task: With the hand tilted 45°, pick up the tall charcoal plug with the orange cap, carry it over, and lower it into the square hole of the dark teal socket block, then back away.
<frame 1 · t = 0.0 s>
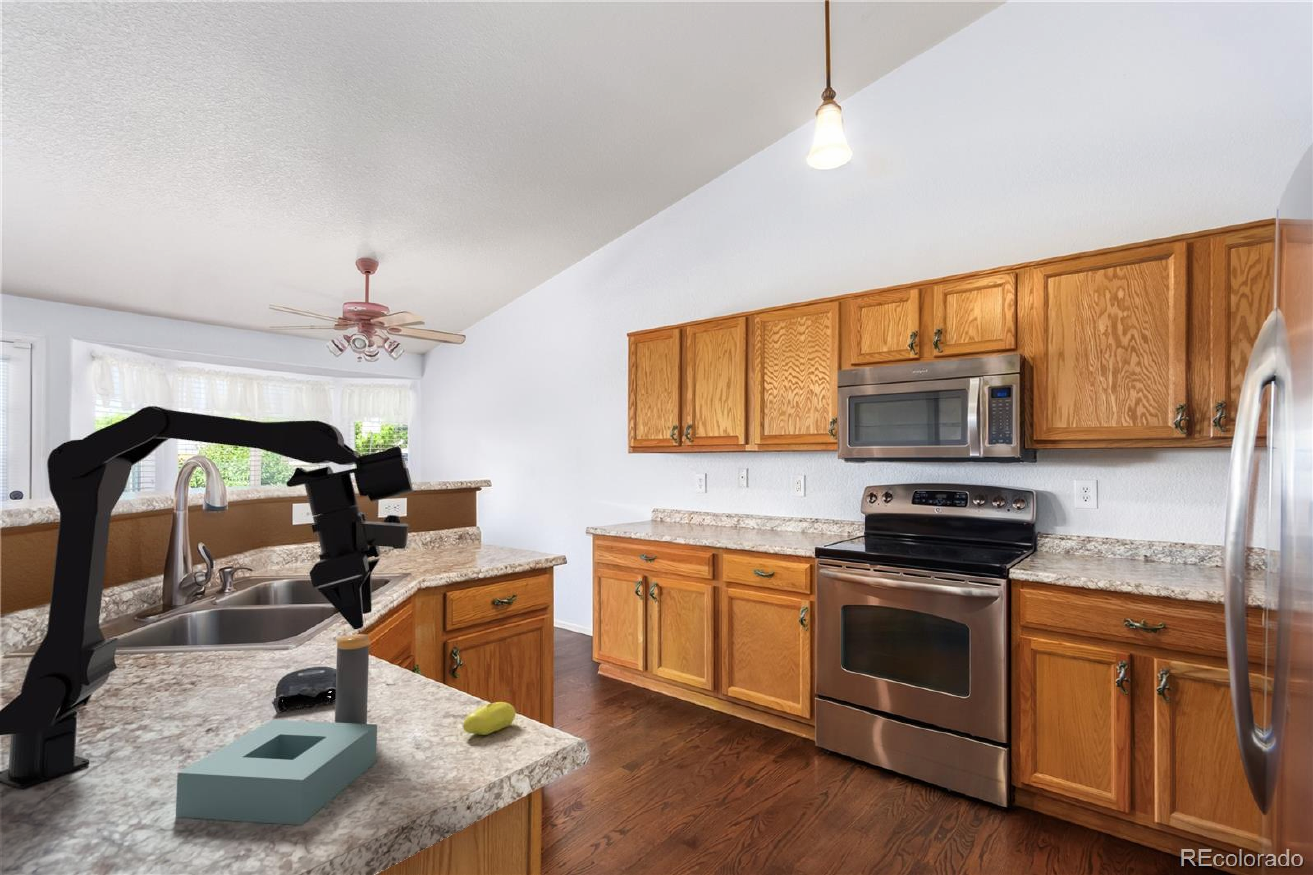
hand: (363, 620, 86), 15 cm above the worktop, tool pointing down, fingers open, 9 cm apart
socket: (284, 786, 71), on the worktop
lemon: (489, 733, 87), on the worktop
plug: (350, 734, 86), on the worktop
electronic device: (308, 697, 101), on the worktop
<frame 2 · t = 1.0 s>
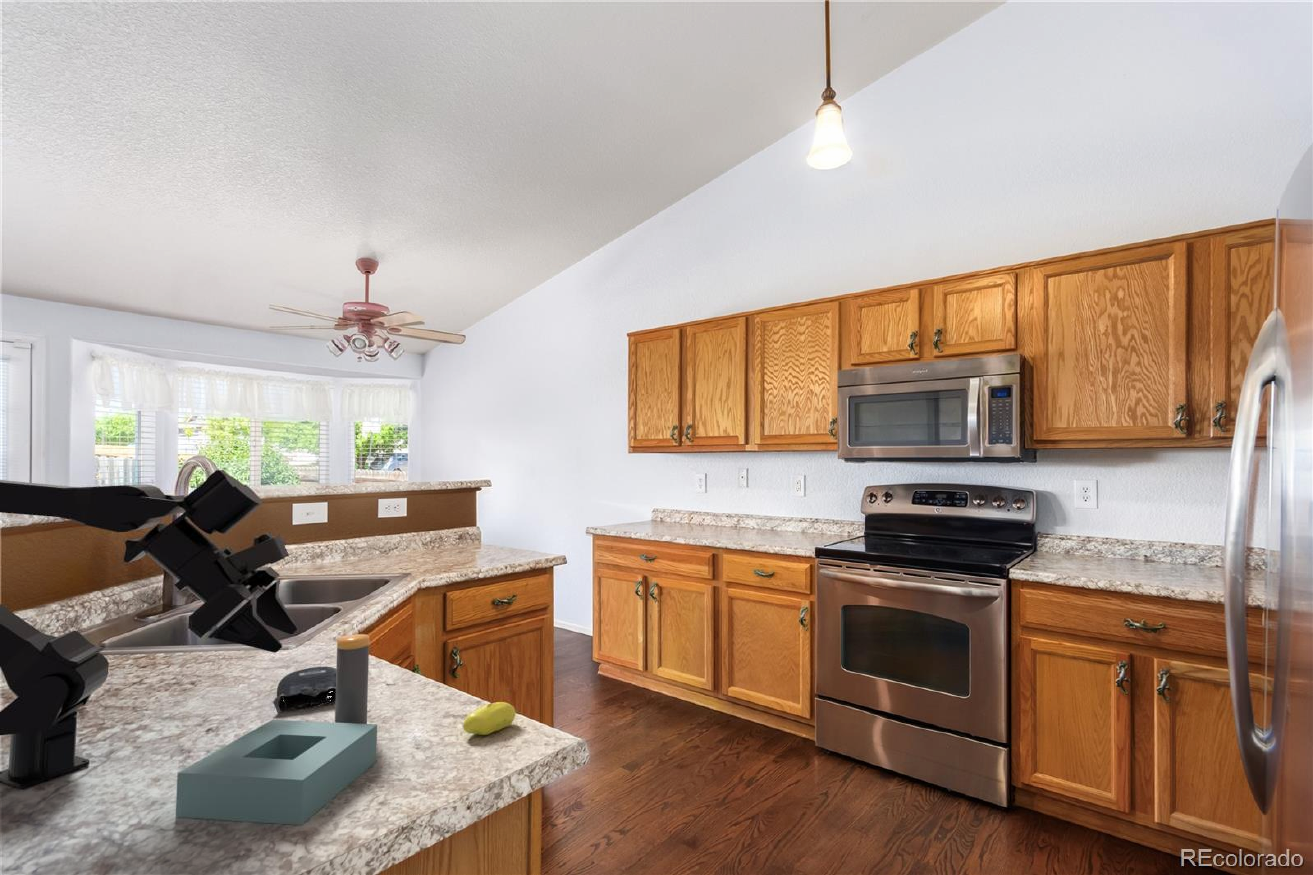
hand: (287, 640, 84), 13 cm above the worktop, tool tilted 45°, fingers open, 9 cm apart
nothing on the worktop moved.
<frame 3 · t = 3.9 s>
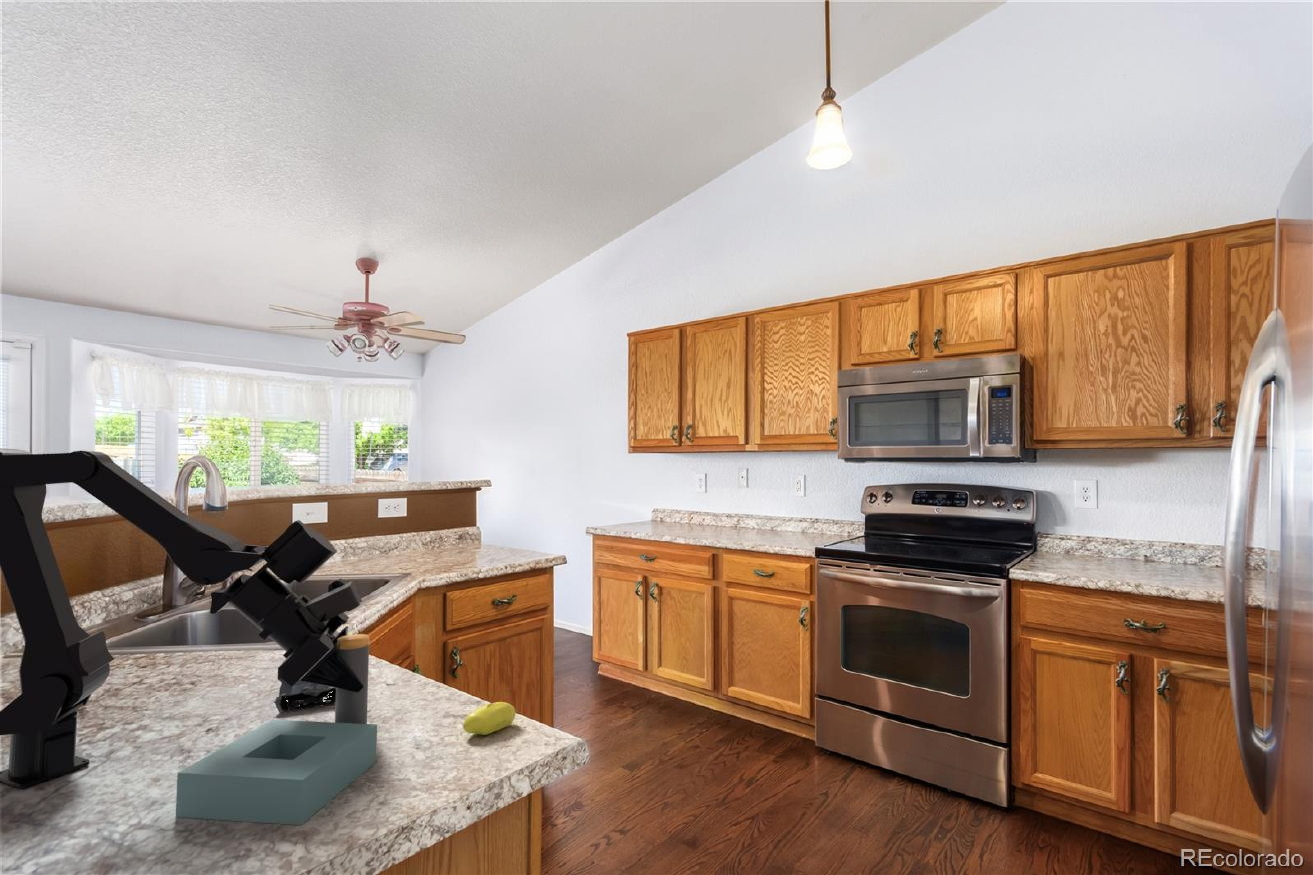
hand: (363, 684, 86), 7 cm above the worktop, tool tilted 45°, fingers closed on plug, 4 cm apart
plug: (350, 734, 86), on the worktop, touching gripper
everything else where it was.
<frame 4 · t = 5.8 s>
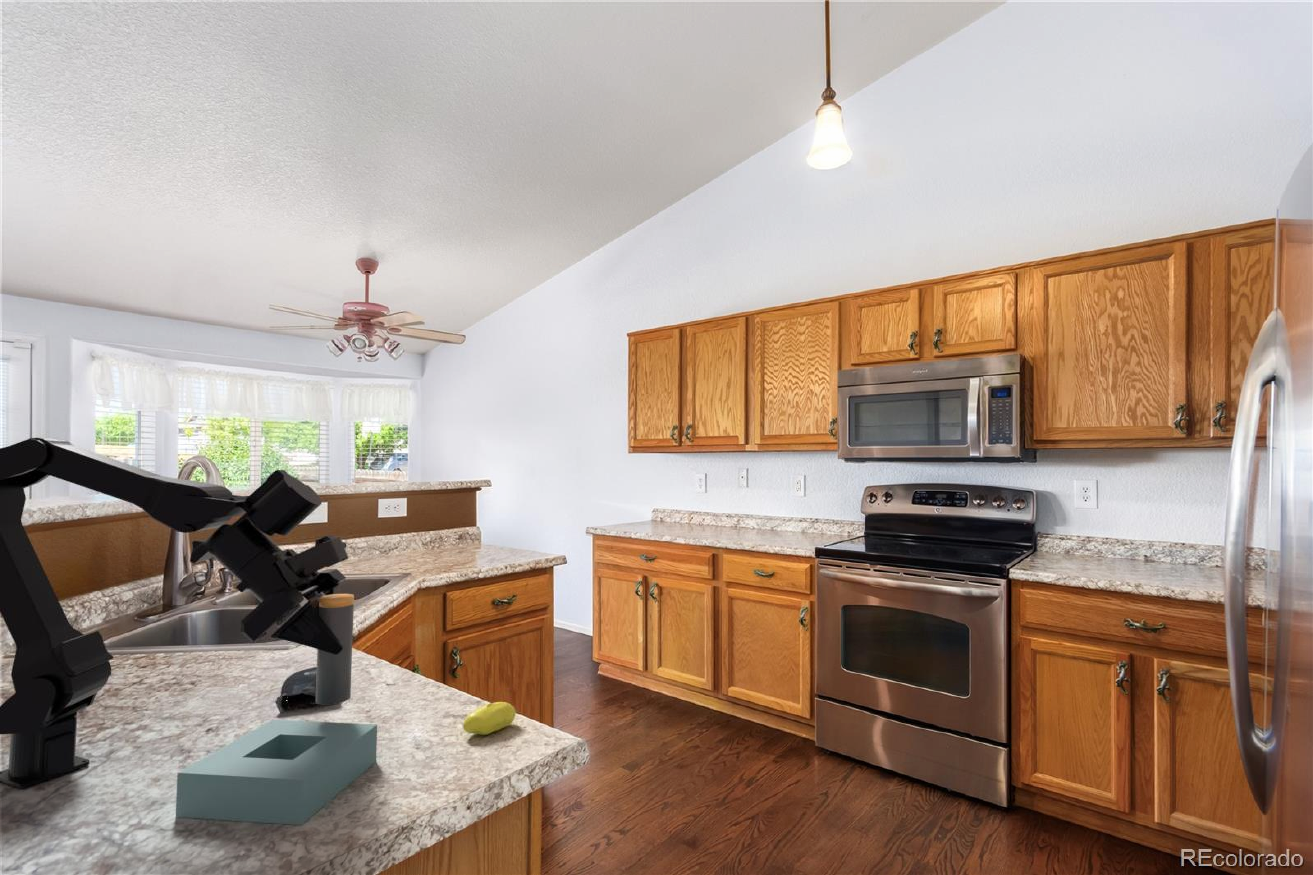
hand: (346, 646, 81), 13 cm above the worktop, tool tilted 45°, fingers closed on plug, 4 cm apart
plug: (333, 699, 80), point 7 cm above the worktop, touching gripper
everything else where it was.
when the fingers open (8 cm above the worktop, at t = 8.0 s): plug drops 2 cm, resting in socket.
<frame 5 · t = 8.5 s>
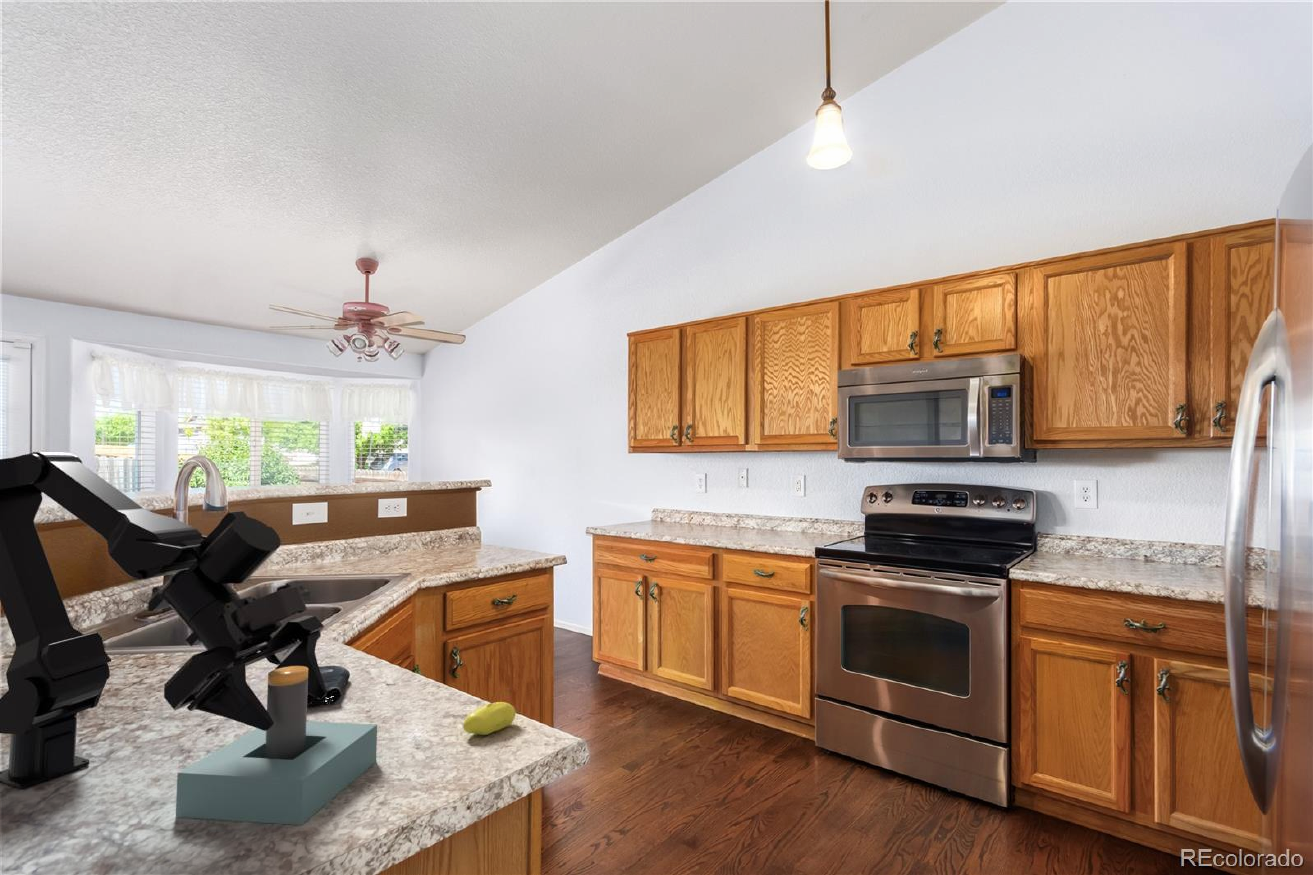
hand: (298, 711, 72), 9 cm above the worktop, tool tilted 45°, fingers open, 9 cm apart
plug: (284, 787, 71), resting in socket
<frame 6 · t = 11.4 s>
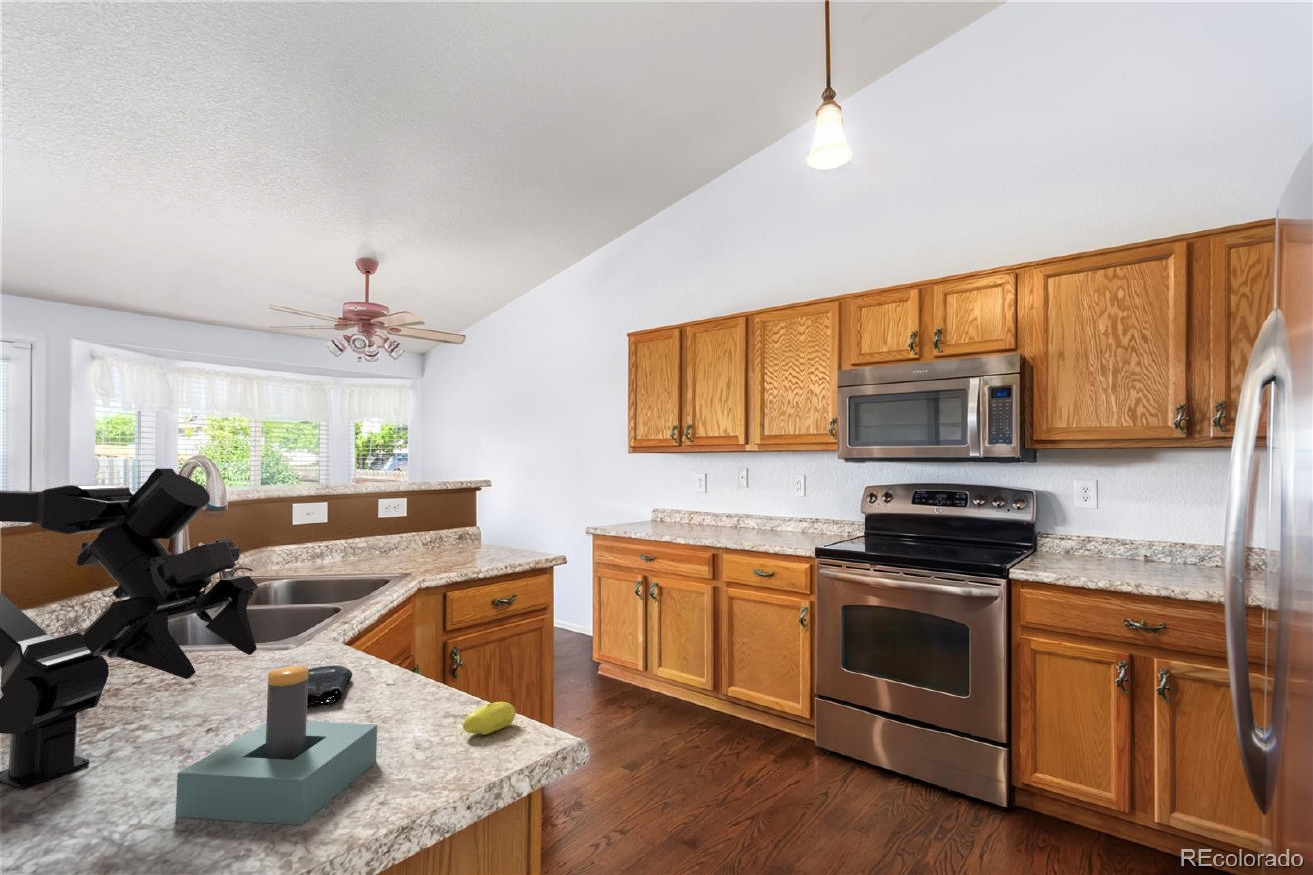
hand: (224, 663, 73), 14 cm above the worktop, tool tilted 45°, fingers open, 9 cm apart
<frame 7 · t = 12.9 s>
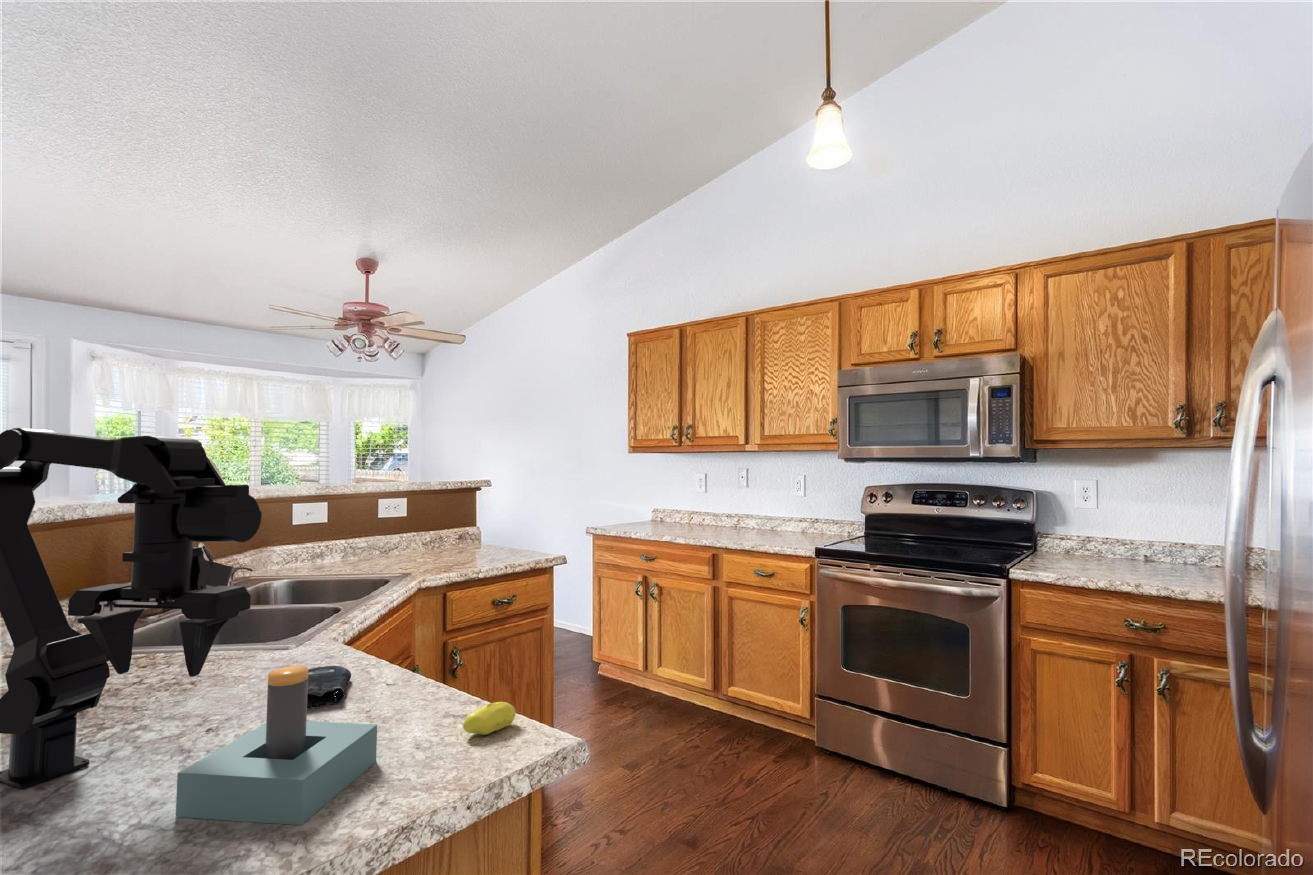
hand: (158, 674, 74), 12 cm above the worktop, tool pointing down, fingers open, 9 cm apart
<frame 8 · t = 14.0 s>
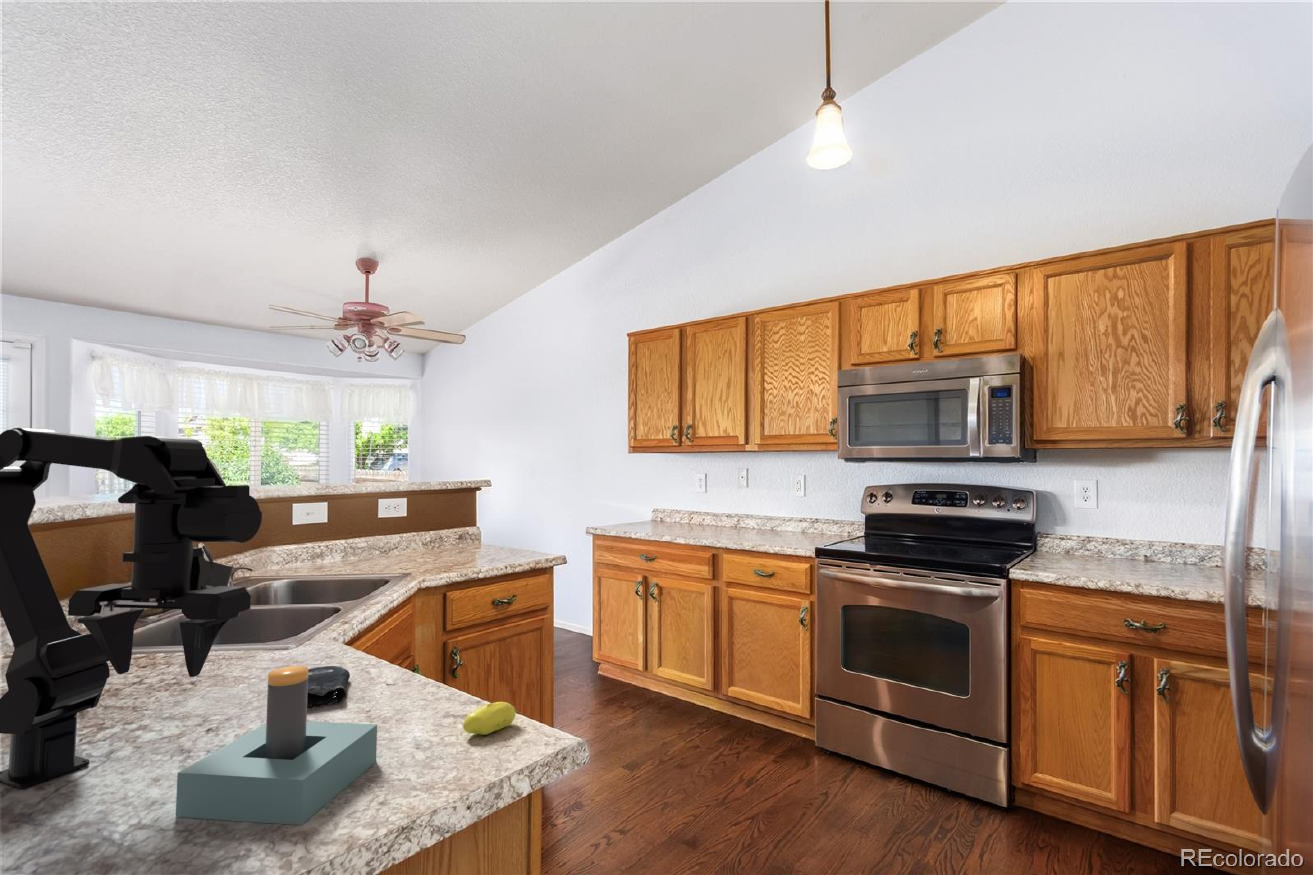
hand: (158, 674, 74), 12 cm above the worktop, tool pointing down, fingers open, 9 cm apart
at the end: plug 0.0 cm off-centre on the socket, point 0.0 cm above the socket's base; plug tilted 0°; the gripper is holding nothing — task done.
